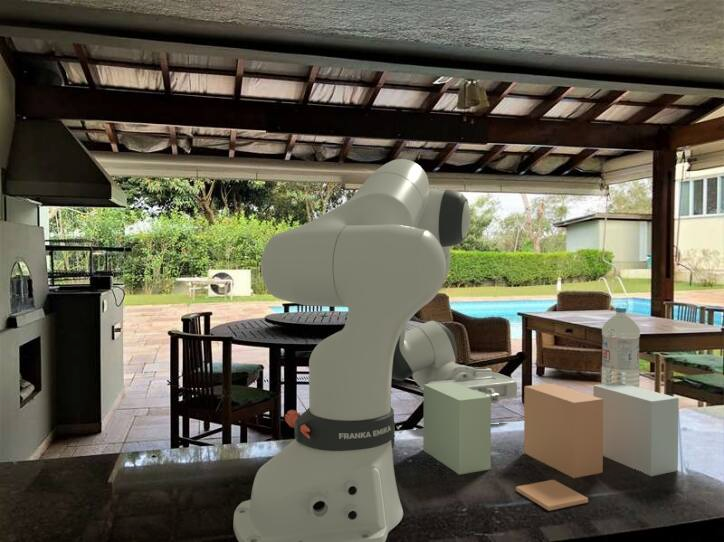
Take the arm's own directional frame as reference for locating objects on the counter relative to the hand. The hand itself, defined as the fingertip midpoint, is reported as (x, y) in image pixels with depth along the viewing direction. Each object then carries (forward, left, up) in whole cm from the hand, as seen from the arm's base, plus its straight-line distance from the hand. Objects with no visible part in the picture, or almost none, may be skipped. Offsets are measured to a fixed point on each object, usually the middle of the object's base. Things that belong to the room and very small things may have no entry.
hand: (493, 399), depth 110 cm
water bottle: (+22, -12, -6) cm, 25 cm away
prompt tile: (-11, -30, -6) cm, 32 cm away
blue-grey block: (+12, -24, -6) cm, 27 cm away
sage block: (-16, -12, -6) cm, 21 cm away
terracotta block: (0, -20, -6) cm, 20 cm away
